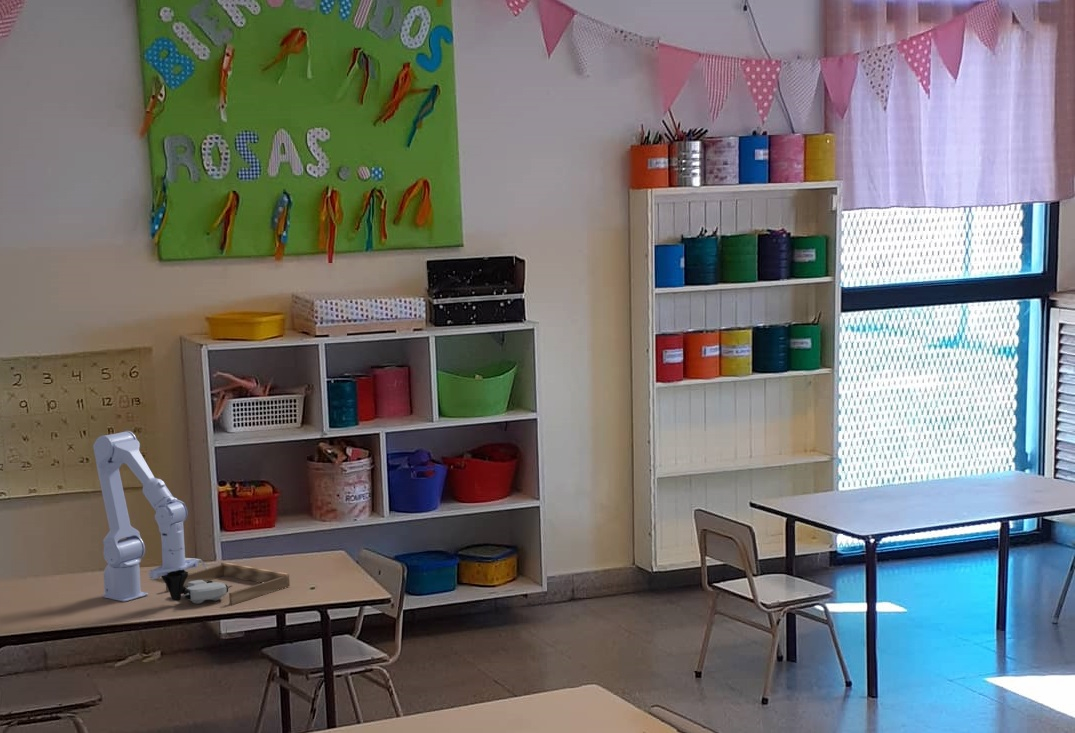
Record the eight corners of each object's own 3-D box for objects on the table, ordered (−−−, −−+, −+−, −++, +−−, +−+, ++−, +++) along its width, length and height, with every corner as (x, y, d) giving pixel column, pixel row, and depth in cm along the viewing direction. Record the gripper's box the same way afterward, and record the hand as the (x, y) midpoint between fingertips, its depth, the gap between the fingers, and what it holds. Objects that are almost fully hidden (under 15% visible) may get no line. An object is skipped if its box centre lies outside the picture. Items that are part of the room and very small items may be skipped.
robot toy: (170, 600, 366) (189, 608, 353) (168, 583, 365) (188, 591, 353) (214, 592, 372) (235, 600, 360) (212, 575, 372) (233, 582, 360)
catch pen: (166, 591, 371) (165, 578, 371) (224, 574, 388) (223, 562, 387) (232, 605, 356) (231, 591, 356) (289, 586, 373) (289, 573, 372)
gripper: (160, 556, 348) (163, 608, 349) (205, 544, 360) (208, 595, 361) (142, 552, 352) (145, 604, 353) (187, 541, 364) (190, 591, 365)
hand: (176, 599), depth 357 cm, fingers closed
